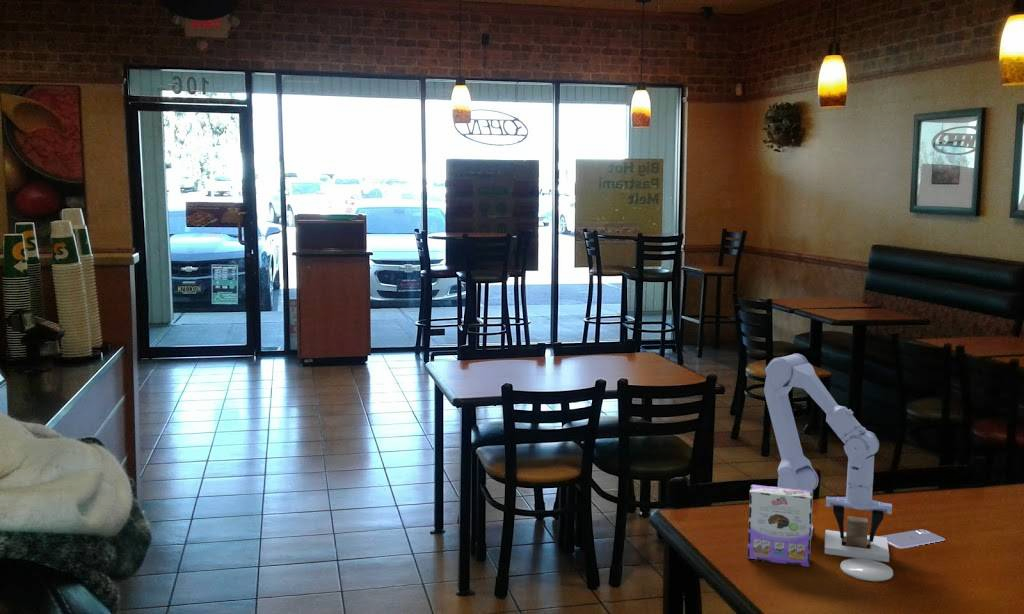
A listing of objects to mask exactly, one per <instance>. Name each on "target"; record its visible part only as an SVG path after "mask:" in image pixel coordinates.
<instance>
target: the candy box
mask: <svg viewBox="0 0 1024 614" xmlns="http://www.w3.org/2000/svg"><path fill="white" fill-rule="evenodd" d="M748 495H749V500H748V501H749V504H748V507H749V509H748V529H747V531H748V535H747V536H748V537H747V556H746V558H747V557H748V558H751V559H757V560H756V561H758V560H762V561H761V562H765V561H767V563H776V564H782V563H783V565H792V566H798V567H799V566H800V567H808V568H809V567H810V563H811V562H810V560H811V547H812V546H811V545H812V543H811V542H812V537H811V528H812V525H813V501H812V490H800V489H790V488H780V487H778V486H769V485H760V484H759V485H758V484H751V485H750V489H749V494H748Z"/></svg>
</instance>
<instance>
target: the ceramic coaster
mask: <svg viewBox="0 0 1024 614" xmlns="http://www.w3.org/2000/svg"><path fill="white" fill-rule="evenodd" d="M839 568H840V571H842V573H844V574H845V575H848V576H849V577H850V578H851V577H852V578H853V579H858V580H861V581H866V582H867V581H868V582H885V581H889V580H891V579H892V578H893V576H894V571H893V569H892V567H890V566H888V565H887V564H885V563H883V562H881V561H876V560H869V559H861V558H848V559H844V560H842V561H841V562H840V567H839Z"/></svg>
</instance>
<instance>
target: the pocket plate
mask: <svg viewBox="0 0 1024 614" xmlns="http://www.w3.org/2000/svg"><path fill="white" fill-rule="evenodd" d="M824 532H825V533H824V555H831V556H839V557H847V558H853V559H855V558H860V559H869V560H874V561H877V562H884V563H885V562H886V563H890V552H889V551H890V550H889V544H888V542H887V537H880V536H881V535H880V536H878V535H874V539H873V542H870V534H869V535H868V534H867V546H869V547H870V548H867V549H865V548H858V547H850V546H846V545H843V543H846V532H847V531H844V539H843V538H840V530H839V531H838V530H830V529H825V531H824Z"/></svg>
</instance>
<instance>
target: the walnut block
mask: <svg viewBox="0 0 1024 614" xmlns="http://www.w3.org/2000/svg"><path fill="white" fill-rule="evenodd" d="M868 528H869V520H868V518H866V517H858V516H851V515H847V518H846V531H845V532H846V542H845V546H850V547H858V548H865V549H868V547H867V546H868V545H867V535H868V531H869V529H868Z"/></svg>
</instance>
